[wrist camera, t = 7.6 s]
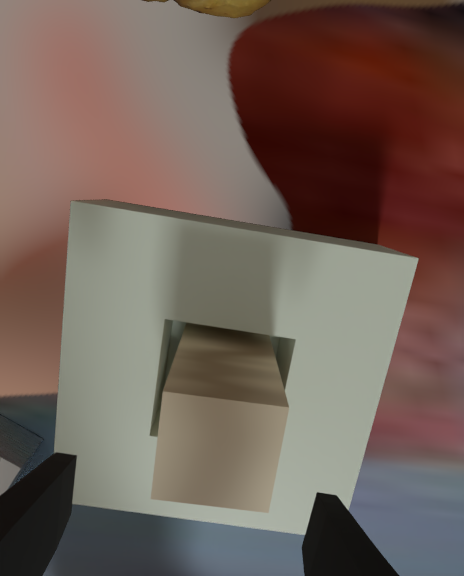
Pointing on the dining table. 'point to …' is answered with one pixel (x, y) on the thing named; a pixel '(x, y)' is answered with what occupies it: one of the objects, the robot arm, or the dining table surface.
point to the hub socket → (231, 315)
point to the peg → (220, 421)
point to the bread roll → (222, 6)
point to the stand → (14, 451)
